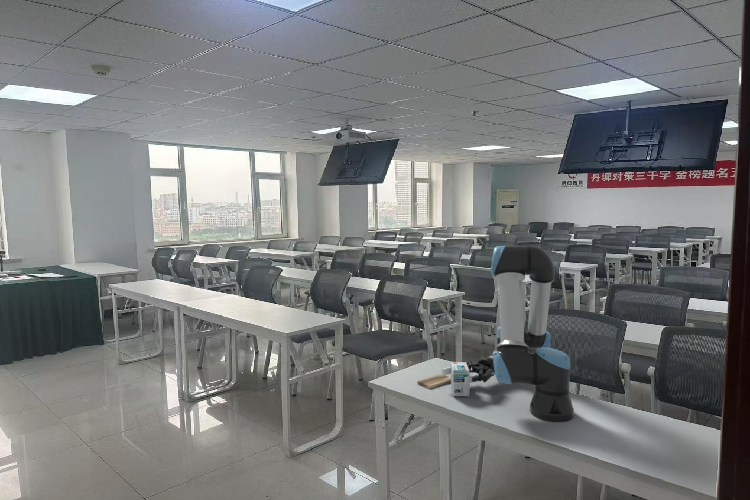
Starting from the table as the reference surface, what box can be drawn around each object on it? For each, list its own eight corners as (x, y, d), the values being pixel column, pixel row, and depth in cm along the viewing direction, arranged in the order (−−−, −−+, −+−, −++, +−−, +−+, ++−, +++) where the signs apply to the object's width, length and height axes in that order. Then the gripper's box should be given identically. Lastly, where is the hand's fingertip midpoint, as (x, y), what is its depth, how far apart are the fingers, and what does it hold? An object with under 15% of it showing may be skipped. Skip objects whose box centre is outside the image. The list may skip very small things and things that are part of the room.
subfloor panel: (453, 381, 214) (453, 378, 214) (429, 389, 206) (429, 386, 206) (441, 376, 220) (441, 374, 220) (417, 383, 212) (417, 381, 212)
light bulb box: (470, 396, 196) (470, 370, 195) (452, 396, 197) (452, 370, 196) (466, 386, 207) (466, 361, 206) (450, 386, 208) (450, 361, 206)
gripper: (513, 382, 202) (476, 394, 190) (469, 367, 222) (433, 377, 210) (513, 364, 202) (476, 375, 189) (469, 350, 221) (433, 359, 209)
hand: (453, 376), depth 199 cm, fingers closed on light bulb box, 12 cm apart
